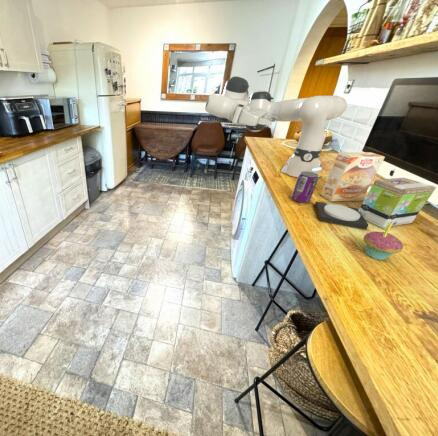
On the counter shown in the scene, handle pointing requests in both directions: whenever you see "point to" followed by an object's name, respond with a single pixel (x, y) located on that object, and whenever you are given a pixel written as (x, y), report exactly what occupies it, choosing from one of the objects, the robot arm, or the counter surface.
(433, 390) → the counter surface
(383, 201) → the tea box
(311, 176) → the beverage can
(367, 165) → the coffeecake box
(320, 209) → the scale
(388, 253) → the cupcake
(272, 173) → the counter surface
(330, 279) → the counter surface
